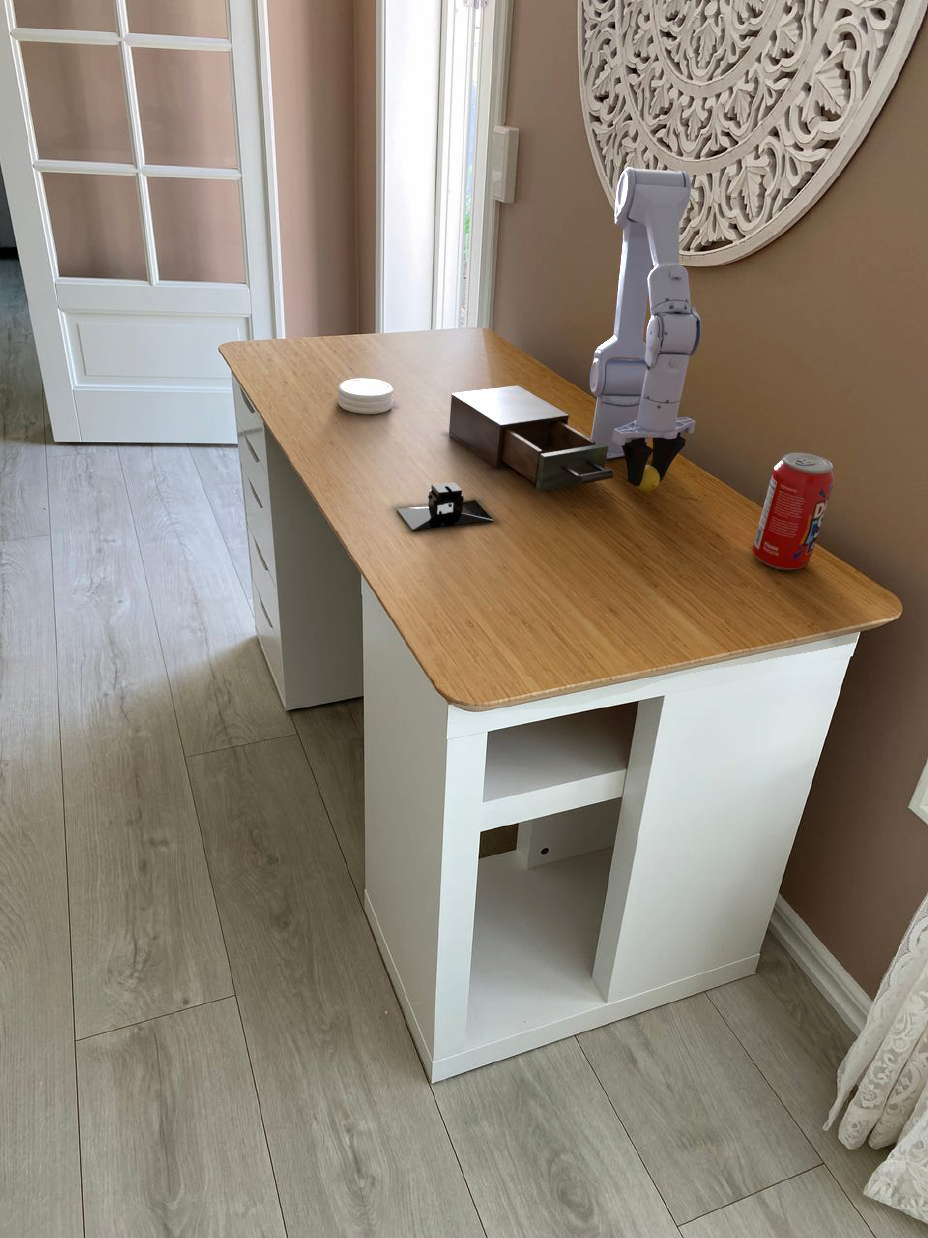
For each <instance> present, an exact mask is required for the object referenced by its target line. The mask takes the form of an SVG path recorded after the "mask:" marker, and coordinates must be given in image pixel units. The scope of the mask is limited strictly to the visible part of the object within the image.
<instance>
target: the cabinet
mask: <svg viewBox="0 0 928 1238" xmlns="http://www.w3.org/2000/svg"><path fill="white" fill-rule="evenodd" d="M450 396H451V399H450V409H449V410H450V411H449V426H448V427H449V428H448V435H449V436H450V437H451V438H452V439H454V440H455V441H457V442H458V443H460V444H461V445H462V446H464V447H465V448H466V449H468V450H469V451H471V452H472V453H473V454H475V455H476V456H478V457H479V458H481V459H482V460H484V462H486V463H488V465H490V466H492V467H493V468H495V469H501V468H507V467H510V466H509V465H508V464H506V463H505V462H504V461H502V460H501V459H500V458H501V449H502V439H503V429H505V428H512V427H518V426H525V425H532V424H538V423H545V422H552V421H558V420H560V421H561V422H563V423H565V424H566V425H568V424H569V416H570V415H569V414H568V413H566V412H564V411H563V410H560V409H559V408H558V407H556V406H554V405H552V404H550V403H549V402H547V401H545V400H543V399H542V398H541V397H538V396H537V395H535V394H534V393H532V392H530V391H528V390H526V389H525V388H523V387H521V386H519V385H517V384H516V385H510V386H502V387H501V386H500V387H493V388H485V389H477V390H468V391H461V392H452V393H451V395H450ZM568 426H569V425H568Z"/></svg>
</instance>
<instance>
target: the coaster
mask: <svg viewBox="0 0 928 1238" xmlns="http://www.w3.org/2000/svg"><path fill="white" fill-rule="evenodd" d="M337 391H338V393H337V398H338V399H337V403H338V405H339V407H340V408H341V409H343V410H345V411H347V412H350V413H353V414H361V415H376V414H377V415H378V414H383V413H386V412H388V411H389V410H391V409H392V408H393V405H394V401H393V400H394V387H392V385H390V384H389V383H387V382H385V381H382V380H379V379H373V378H353V379H348V380H344V381H343V382H341V383H340V384H338V387H337Z"/></svg>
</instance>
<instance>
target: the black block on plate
mask: <svg viewBox="0 0 928 1238" xmlns="http://www.w3.org/2000/svg"><path fill="white" fill-rule="evenodd" d="M427 498H428V504H422V505H421V504H420V505H412V506H403V507H397V508H396V512H397V513H398V514H399V516H400V517H401V519H402V520H403V522H405V524H406V525H407V526H408V528H409V529H410V531H411V532H412V533H413V532H422V531H430V530H439V529H440V530H441V529H448V528H456V527H464V526H473V525H483V524H490V523H494V519H493V518H492V516H490V514H489V513H488V512H487V511H486V509H484V508H483V507H482V506H481V505H480V503H479V502H478V501H477V500H476V499H470V500H465V498H464V495H463V489H462V488H461V487H460V486H459V485H458V484H457V482H453V481H452V482H443V483H432V484H431V488H430V490H429V492H428V496H427Z"/></svg>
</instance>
